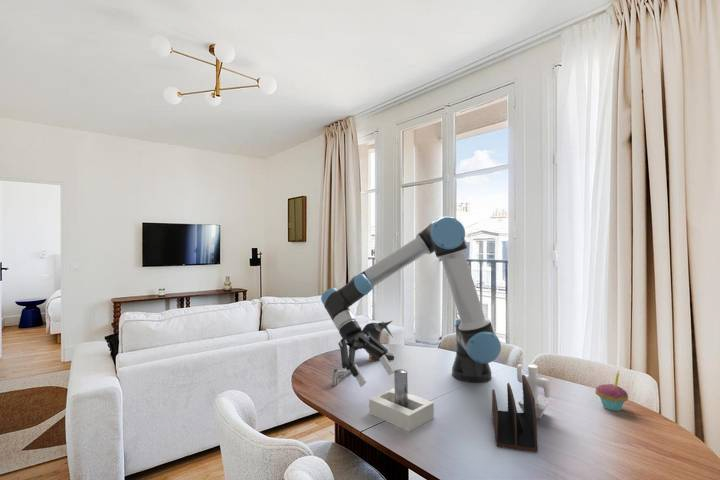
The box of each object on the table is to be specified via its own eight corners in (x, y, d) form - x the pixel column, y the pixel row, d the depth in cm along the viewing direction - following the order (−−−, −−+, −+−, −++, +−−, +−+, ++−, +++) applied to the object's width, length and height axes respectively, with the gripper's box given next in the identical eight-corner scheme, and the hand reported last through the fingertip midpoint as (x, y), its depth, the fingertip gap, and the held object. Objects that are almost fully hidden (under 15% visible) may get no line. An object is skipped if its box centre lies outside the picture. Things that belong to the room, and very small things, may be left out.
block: (369, 413, 113) (369, 398, 113) (394, 401, 121) (394, 388, 121) (409, 431, 102) (408, 415, 102) (433, 417, 110) (433, 402, 110)
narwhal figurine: (361, 354, 174) (360, 317, 175) (392, 354, 174) (392, 317, 174) (360, 364, 160) (359, 323, 160) (394, 363, 160) (393, 323, 160)
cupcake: (622, 403, 117) (622, 367, 117) (633, 415, 109) (632, 376, 109) (592, 400, 120) (591, 364, 120) (600, 411, 112) (599, 373, 112)
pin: (408, 408, 113) (407, 369, 113) (407, 414, 109) (406, 374, 109) (396, 406, 114) (395, 368, 114) (394, 412, 110) (393, 373, 110)
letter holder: (526, 417, 109) (525, 370, 110) (538, 453, 90) (537, 397, 91) (491, 413, 112) (490, 368, 113) (496, 447, 93) (495, 393, 94)
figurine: (547, 423, 105) (546, 371, 106) (514, 413, 112) (513, 365, 112) (553, 414, 111) (552, 365, 111) (521, 405, 117) (520, 359, 117)
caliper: (335, 387, 135) (334, 370, 135) (332, 387, 135) (332, 370, 135) (357, 369, 154) (357, 354, 154) (355, 369, 154) (355, 354, 154)
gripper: (366, 326, 140) (396, 374, 129) (315, 338, 123) (344, 395, 112) (376, 314, 136) (408, 363, 125) (324, 325, 119) (356, 383, 108)
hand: (378, 378), depth 119 cm, fingers open, 13 cm apart
